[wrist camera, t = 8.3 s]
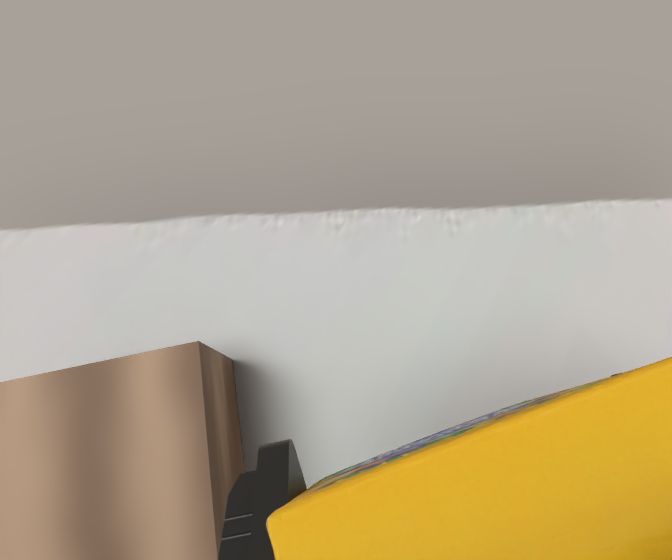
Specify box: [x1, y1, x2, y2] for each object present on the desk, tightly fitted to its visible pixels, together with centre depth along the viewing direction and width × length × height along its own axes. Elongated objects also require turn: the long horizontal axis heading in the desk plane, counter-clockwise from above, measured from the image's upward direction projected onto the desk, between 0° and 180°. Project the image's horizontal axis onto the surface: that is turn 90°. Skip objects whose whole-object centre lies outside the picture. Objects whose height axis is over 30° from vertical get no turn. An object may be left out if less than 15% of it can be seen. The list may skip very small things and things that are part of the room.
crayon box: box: [266, 357, 672, 560], centre depth 10 cm, size 7×3×12 cm, turn 109°
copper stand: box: [0, 341, 245, 560], centre depth 24 cm, size 12×12×6 cm
